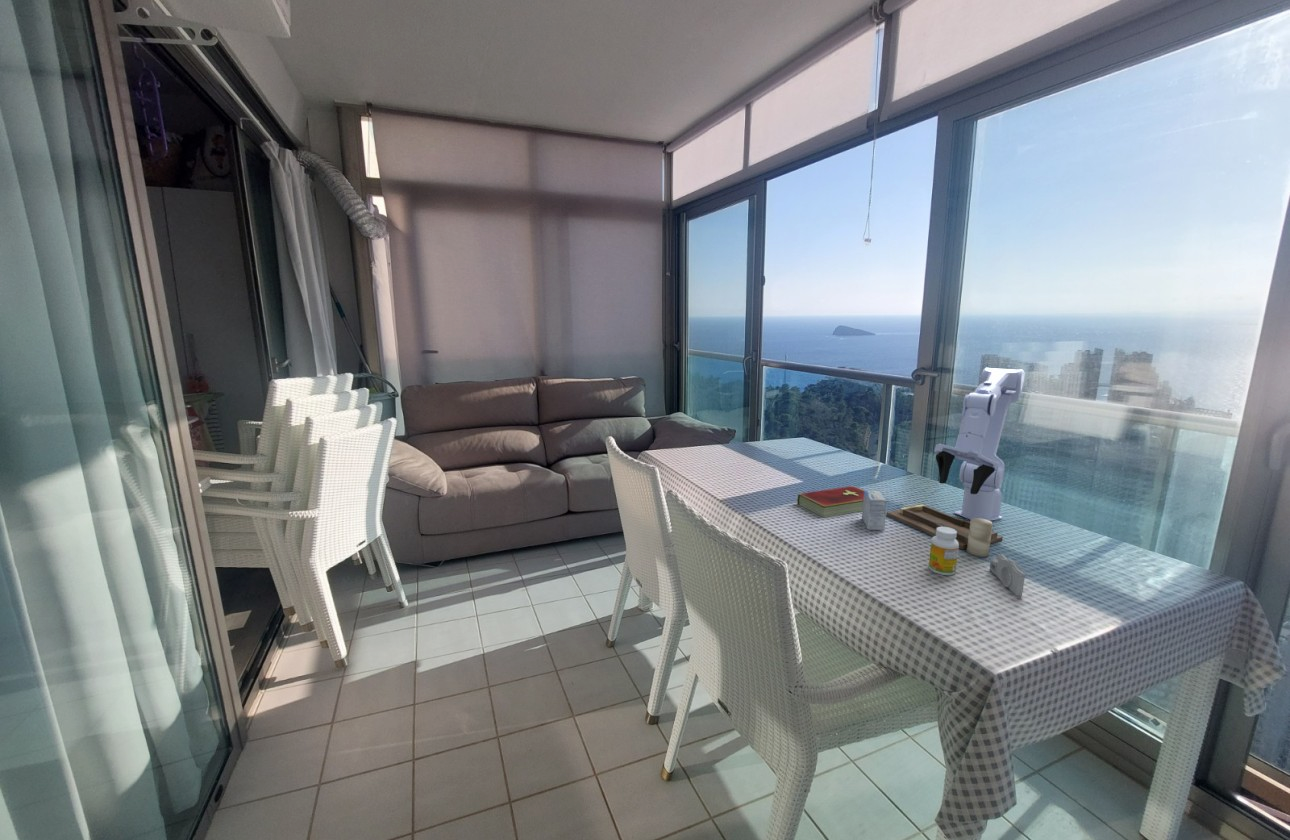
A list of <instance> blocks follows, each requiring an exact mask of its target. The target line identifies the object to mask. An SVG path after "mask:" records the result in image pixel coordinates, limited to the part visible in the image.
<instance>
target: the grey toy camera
mask: <svg viewBox="0 0 1290 840" xmlns="http://www.w3.org/2000/svg"><path fill="white" fill-rule="evenodd" d="M989 559H990V563H989V571H991V572H992V573H993V574H994V575H995V576H996V577H997V578H998V579H999V580H1000V582H1001V583H1002V584H1003V586H1004V587H1005V588H1006V587H1007V588H1008V589H1009V590H1010V592H1012V594H1013V595H1015V596H1016V597H1017V596H1020V597H1022V596H1023V591H1024V584H1025V578H1027V577H1028V576H1029V575H1028V574H1027V573H1025V572H1023V569H1022V568H1021V566H1020V565H1019V563H1018V562H1016V560H1013V559H1012V558H1011V559H1010V558H1008V557H1007V555H1006V554H1003V553H999V554H998V555H997V557H995V556H993V557H990V558H989Z"/></svg>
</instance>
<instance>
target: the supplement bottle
mask: <svg viewBox="0 0 1290 840" xmlns="http://www.w3.org/2000/svg"><path fill="white" fill-rule="evenodd" d="M936 535H937V536H932V538H931V540H930V541H931V542H930V550H929V556H928V558H929V560H928V569H930V571H932V572H933V573H935V574H938V575H942V576H952V575H954V574H955V573H956V571H957V565H958V556H959V555H958V554H959V550H960V548H959V543H958V541H957V540H956V539H955V538H956V536H957V531H956V530H954V529H952V528H949V527H937V528H936Z"/></svg>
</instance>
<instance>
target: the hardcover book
mask: <svg viewBox="0 0 1290 840" xmlns="http://www.w3.org/2000/svg"><path fill="white" fill-rule="evenodd" d="M864 491H866V490H864V489H862V488H859V487H857V486H855V485H851V486H850V485H849V486H844V487H836V488H829V489H821V490H815V491H810V492H808V491H807V492H803V493H801V492H800V493H798V494H797V501H796V502H797V505H798V506H801V507H803V508H805V509H807V510H808V511H811V512H813V513H814V514H816V515H818V516H819V517H822V518H829V517H833V516H841V515H845V514H852V513H859V512H862V509H863V496H864Z"/></svg>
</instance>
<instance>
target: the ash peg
mask: <svg viewBox="0 0 1290 840" xmlns="http://www.w3.org/2000/svg"><path fill="white" fill-rule="evenodd" d="M969 522H970V529H969V537H968V545H967V548H966V552H967V553H969V554H970V555H973V556H976V557H982V558H983V557H985V558H986V557H988V556H989V554H990V547H991V543H990V541H991V533H992V531H993V525H994V524H993V521H989V520H986V519H981V518H972V519H971V520H970V521H969Z"/></svg>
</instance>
